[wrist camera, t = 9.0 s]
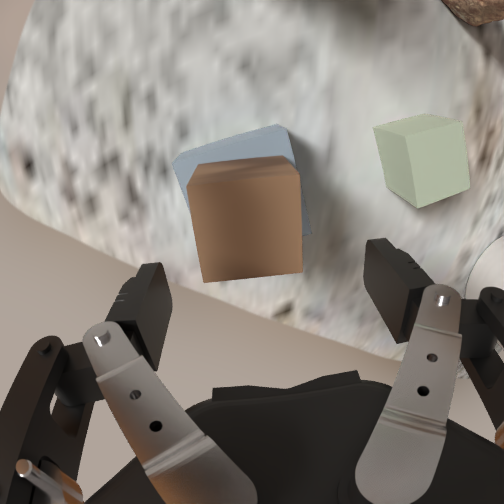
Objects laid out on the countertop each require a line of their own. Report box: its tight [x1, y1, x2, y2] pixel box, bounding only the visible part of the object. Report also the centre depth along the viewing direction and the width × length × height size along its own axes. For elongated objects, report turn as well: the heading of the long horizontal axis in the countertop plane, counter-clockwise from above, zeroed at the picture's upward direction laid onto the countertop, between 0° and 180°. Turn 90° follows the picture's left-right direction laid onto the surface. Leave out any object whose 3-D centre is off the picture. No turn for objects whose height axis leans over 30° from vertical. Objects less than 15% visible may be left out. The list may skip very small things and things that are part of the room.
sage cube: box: [373, 114, 470, 209], centre depth 20 cm, size 5×5×5 cm
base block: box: [172, 124, 312, 236], centre depth 21 cm, size 7×7×4 cm
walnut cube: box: [186, 155, 303, 283], centre depth 17 cm, size 5×5×5 cm
